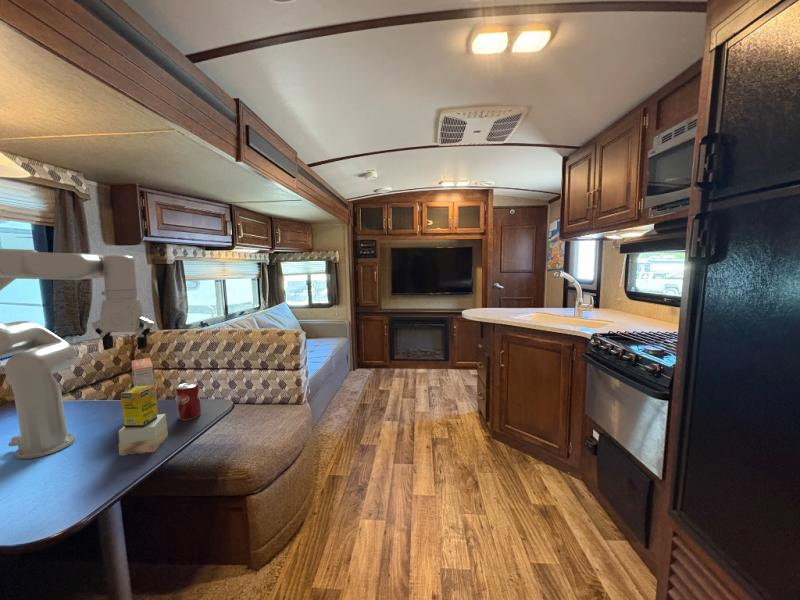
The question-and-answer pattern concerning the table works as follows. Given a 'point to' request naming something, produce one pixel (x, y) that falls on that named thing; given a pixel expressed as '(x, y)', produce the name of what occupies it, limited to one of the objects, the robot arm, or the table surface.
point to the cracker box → (144, 374)
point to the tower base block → (143, 445)
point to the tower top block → (143, 431)
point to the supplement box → (139, 406)
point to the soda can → (188, 400)
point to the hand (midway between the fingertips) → (125, 348)
